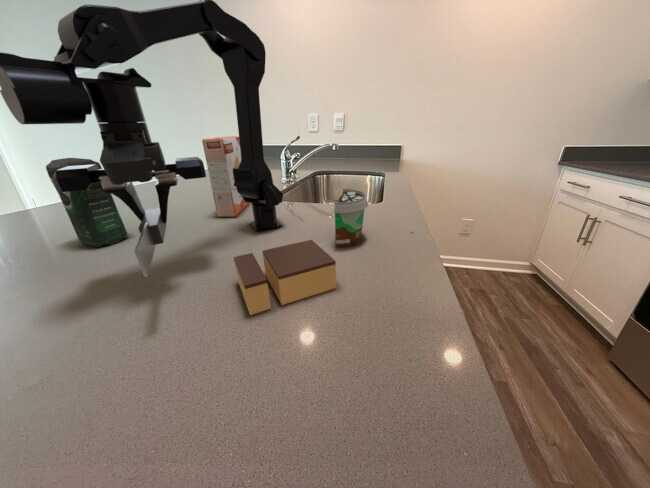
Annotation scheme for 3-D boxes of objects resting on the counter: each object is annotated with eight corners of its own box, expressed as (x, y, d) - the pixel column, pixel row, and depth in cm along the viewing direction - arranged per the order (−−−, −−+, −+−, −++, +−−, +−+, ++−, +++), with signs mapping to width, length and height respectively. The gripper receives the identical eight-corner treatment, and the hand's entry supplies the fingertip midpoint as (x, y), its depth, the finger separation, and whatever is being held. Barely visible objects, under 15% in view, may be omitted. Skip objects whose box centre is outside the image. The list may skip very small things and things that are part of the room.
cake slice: (238, 283, 43) (233, 256, 41) (256, 278, 44) (252, 252, 42) (250, 315, 36) (244, 285, 34) (271, 308, 37) (266, 279, 35)
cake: (265, 276, 45) (262, 250, 43) (312, 263, 48) (311, 239, 46) (281, 305, 37) (278, 276, 35) (336, 288, 41) (335, 260, 39)
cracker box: (237, 217, 73) (223, 138, 64) (216, 218, 73) (199, 138, 64) (251, 203, 86) (240, 135, 77) (233, 203, 86) (220, 136, 77)
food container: (364, 251, 52) (366, 204, 48) (334, 249, 53) (334, 203, 49) (367, 229, 63) (369, 188, 59) (342, 227, 64) (343, 187, 60)
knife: (151, 225, 46) (145, 206, 45) (166, 223, 47) (161, 204, 46) (134, 279, 30) (123, 252, 28) (158, 274, 31) (148, 247, 29)
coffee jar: (135, 237, 62) (104, 156, 54) (96, 250, 56) (56, 161, 48) (113, 231, 66) (81, 155, 58) (75, 243, 60) (34, 159, 52)
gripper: (0, 125, 27) (68, 256, 34) (195, 120, 34) (219, 229, 41) (46, 125, 36) (93, 228, 43) (193, 121, 43) (212, 210, 50)
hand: (156, 224), depth 44 cm, fingers closed on knife, 2 cm apart
